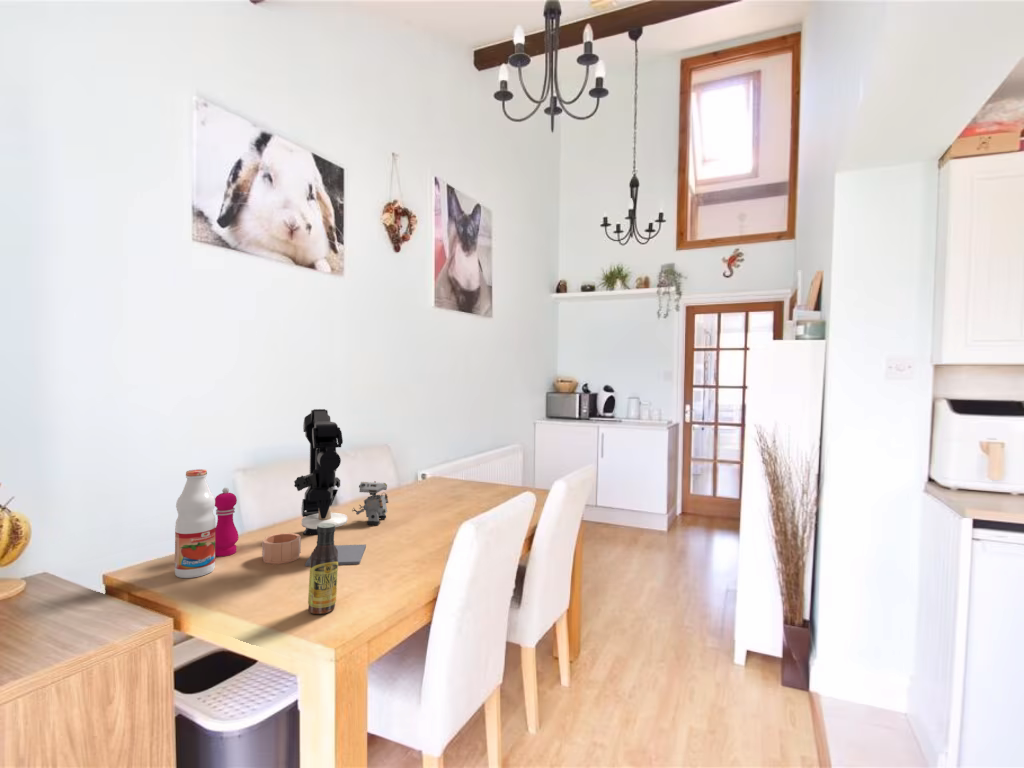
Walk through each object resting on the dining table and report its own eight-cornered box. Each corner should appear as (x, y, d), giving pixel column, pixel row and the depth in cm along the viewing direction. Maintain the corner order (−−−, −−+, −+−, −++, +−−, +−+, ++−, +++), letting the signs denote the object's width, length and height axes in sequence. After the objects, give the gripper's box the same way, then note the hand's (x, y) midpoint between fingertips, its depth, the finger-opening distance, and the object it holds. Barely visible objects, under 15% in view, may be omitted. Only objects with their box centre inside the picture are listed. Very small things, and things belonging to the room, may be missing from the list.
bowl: (268, 553, 155) (269, 533, 155) (303, 551, 157) (303, 532, 157) (257, 565, 145) (258, 544, 145) (295, 563, 147) (295, 543, 147)
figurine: (361, 517, 195) (361, 479, 195) (390, 519, 194) (390, 480, 194) (351, 524, 186) (352, 484, 186) (382, 526, 185) (383, 485, 185)
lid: (306, 516, 158) (307, 502, 158) (349, 515, 161) (350, 501, 161) (296, 529, 146) (297, 513, 146) (343, 528, 148) (344, 512, 148)
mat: (316, 548, 160) (317, 545, 160) (365, 546, 162) (366, 544, 162) (305, 566, 145) (305, 563, 145) (359, 564, 148) (359, 561, 148)
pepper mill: (226, 558, 150) (227, 491, 150) (205, 556, 151) (206, 489, 151) (243, 550, 157) (244, 486, 157) (223, 548, 159) (224, 484, 158)
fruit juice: (204, 563, 146) (206, 466, 145) (221, 570, 140) (222, 470, 140) (168, 573, 138) (169, 471, 137) (184, 581, 133) (185, 475, 132)
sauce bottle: (311, 618, 114) (313, 531, 114) (304, 608, 119) (306, 524, 119) (341, 611, 118) (342, 526, 118) (333, 601, 123) (334, 520, 123)
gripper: (304, 460, 161) (303, 508, 161) (289, 471, 142) (288, 526, 143) (340, 459, 163) (340, 508, 163) (330, 471, 144) (329, 525, 145)
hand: (324, 516), depth 153 cm, fingers closed on lid, 4 cm apart
